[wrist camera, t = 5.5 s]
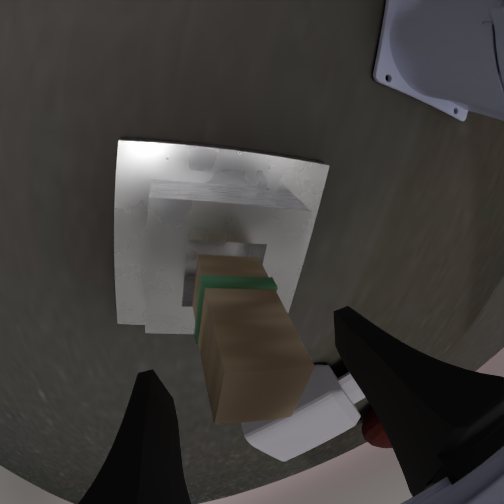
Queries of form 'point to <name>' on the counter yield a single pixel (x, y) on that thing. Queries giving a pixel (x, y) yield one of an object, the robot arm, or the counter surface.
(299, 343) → the post
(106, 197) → the counter surface
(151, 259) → the stand
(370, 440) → the potato
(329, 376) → the charger
